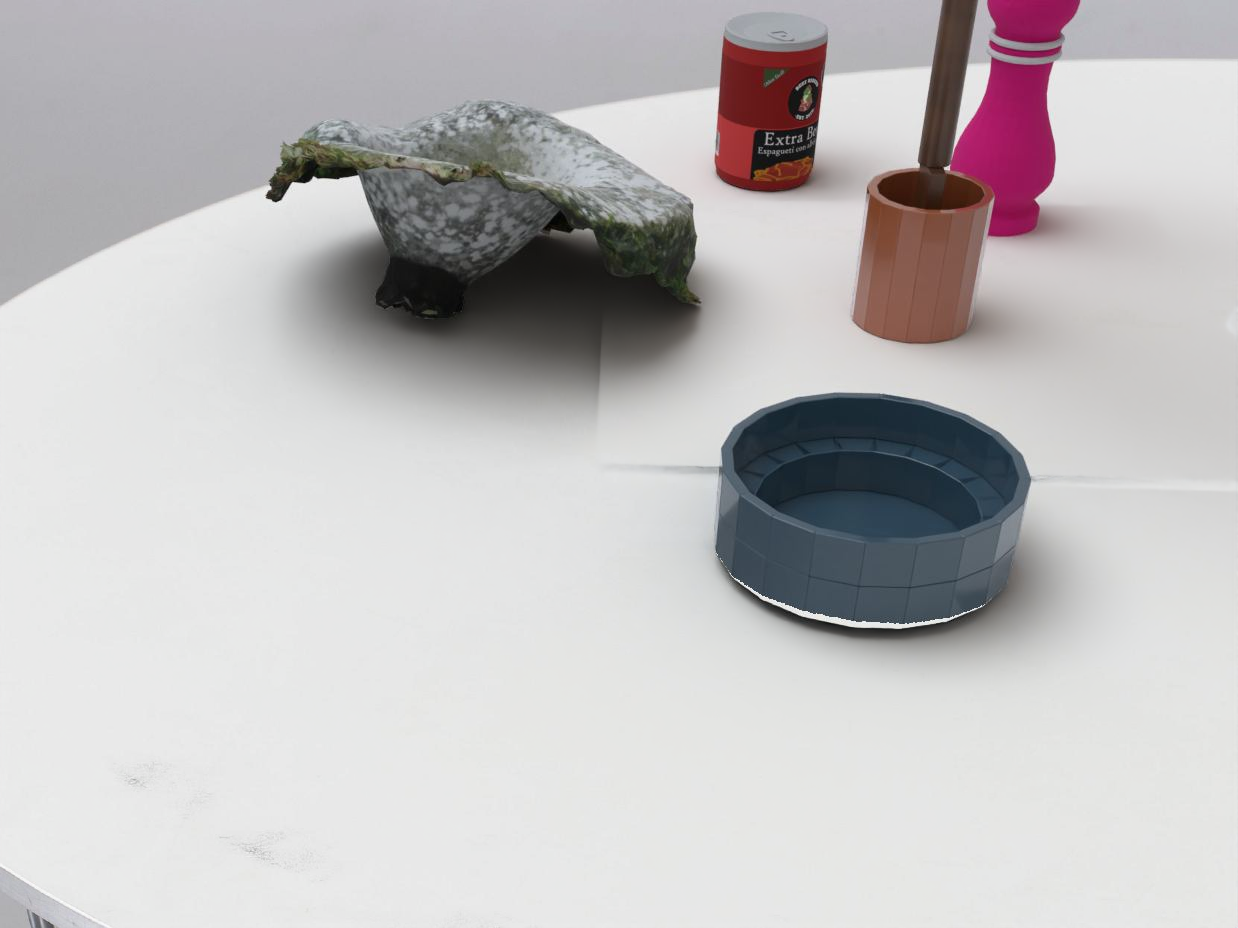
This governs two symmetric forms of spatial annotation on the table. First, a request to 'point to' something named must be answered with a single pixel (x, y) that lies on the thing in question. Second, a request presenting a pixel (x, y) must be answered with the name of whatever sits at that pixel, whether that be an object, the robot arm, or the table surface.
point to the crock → (920, 258)
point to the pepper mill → (1016, 112)
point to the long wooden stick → (944, 100)
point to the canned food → (769, 99)
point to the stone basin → (493, 198)
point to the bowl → (870, 507)
